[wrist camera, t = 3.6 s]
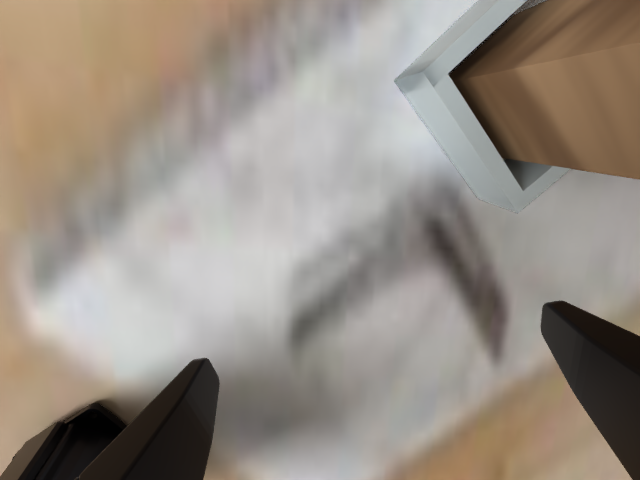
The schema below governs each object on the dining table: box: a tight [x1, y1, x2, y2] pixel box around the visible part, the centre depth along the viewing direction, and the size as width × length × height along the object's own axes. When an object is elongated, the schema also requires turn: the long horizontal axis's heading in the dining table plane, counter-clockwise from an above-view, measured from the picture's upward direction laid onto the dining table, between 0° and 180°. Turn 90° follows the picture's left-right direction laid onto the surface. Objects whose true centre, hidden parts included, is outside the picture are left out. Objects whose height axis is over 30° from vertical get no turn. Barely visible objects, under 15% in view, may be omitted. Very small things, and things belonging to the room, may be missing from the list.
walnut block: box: [449, 0, 640, 179], centre depth 13 cm, size 5×5×13 cm
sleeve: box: [394, 0, 570, 213], centre depth 17 cm, size 16×9×4 cm, turn 132°
